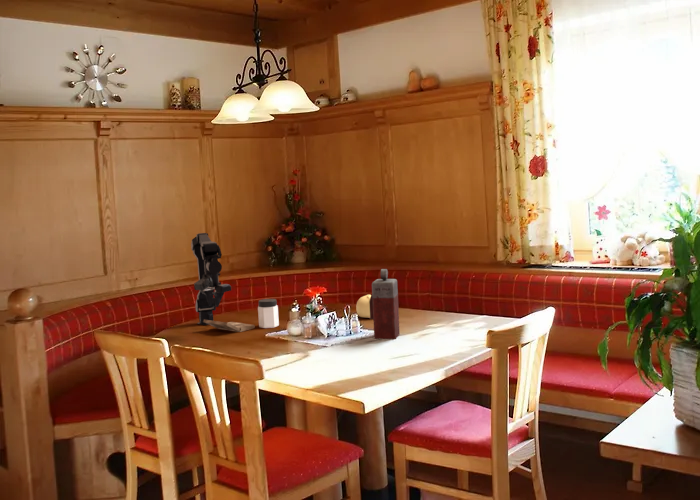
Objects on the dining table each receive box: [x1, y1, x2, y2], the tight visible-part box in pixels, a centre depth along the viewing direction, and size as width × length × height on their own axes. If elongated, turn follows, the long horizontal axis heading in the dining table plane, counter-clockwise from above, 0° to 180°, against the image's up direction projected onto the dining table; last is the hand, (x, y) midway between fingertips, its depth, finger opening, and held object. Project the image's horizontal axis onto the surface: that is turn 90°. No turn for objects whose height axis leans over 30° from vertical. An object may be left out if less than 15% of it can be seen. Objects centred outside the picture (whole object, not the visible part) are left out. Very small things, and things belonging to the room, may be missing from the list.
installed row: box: [216, 321, 256, 333], centre depth 349 cm, size 16×9×2 cm, turn 50°
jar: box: [257, 298, 280, 329], centre depth 349 cm, size 9×8×12 cm
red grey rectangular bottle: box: [369, 268, 400, 340], centre depth 316 cm, size 9×11×28 cm
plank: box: [203, 320, 240, 332], centre depth 343 cm, size 16×8×1 cm, turn 50°
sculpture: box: [355, 294, 372, 319], centre depth 359 cm, size 11×12×11 cm
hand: (213, 306), depth 339 cm, fingers open, 4 cm apart
